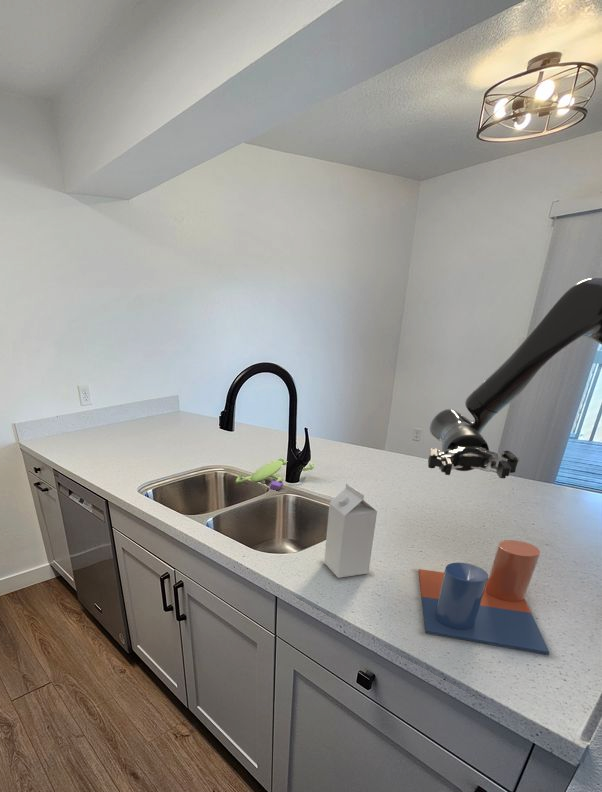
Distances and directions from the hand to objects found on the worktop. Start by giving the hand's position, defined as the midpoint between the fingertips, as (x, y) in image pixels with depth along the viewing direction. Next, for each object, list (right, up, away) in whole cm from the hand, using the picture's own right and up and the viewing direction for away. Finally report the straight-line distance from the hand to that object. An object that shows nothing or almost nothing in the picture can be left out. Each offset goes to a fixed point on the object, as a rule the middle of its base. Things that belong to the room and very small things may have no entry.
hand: (476, 471), depth 77 cm
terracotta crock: (+11, -23, +8) cm, 26 cm away
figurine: (-22, +9, +77) cm, 80 cm away
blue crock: (-3, -27, +2) cm, 27 cm away
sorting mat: (+3, -25, +6) cm, 26 cm away
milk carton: (-16, -19, +21) cm, 32 cm away
